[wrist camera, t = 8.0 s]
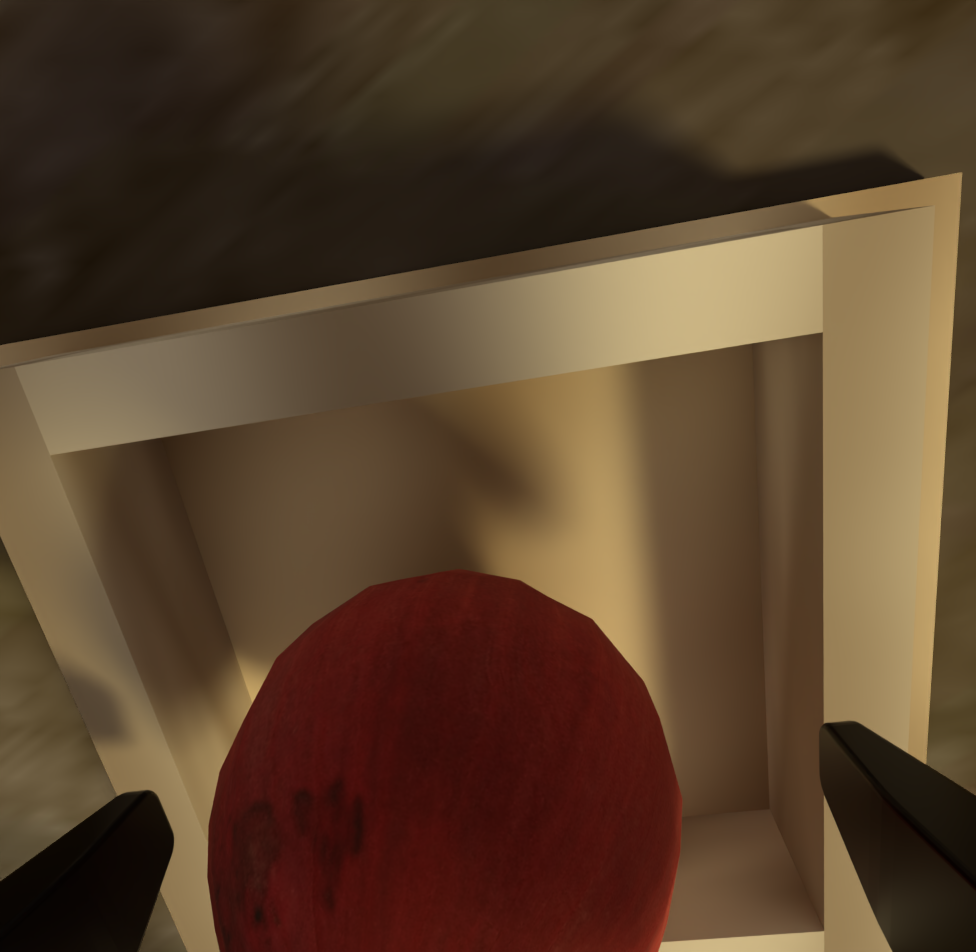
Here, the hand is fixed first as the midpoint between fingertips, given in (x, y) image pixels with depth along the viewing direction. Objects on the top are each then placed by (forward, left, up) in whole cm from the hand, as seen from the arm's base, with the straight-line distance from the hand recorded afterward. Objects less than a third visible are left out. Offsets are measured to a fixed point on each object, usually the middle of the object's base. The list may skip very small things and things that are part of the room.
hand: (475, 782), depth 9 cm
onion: (0, 0, -4) cm, 4 cm away
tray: (0, 0, -4) cm, 4 cm away
